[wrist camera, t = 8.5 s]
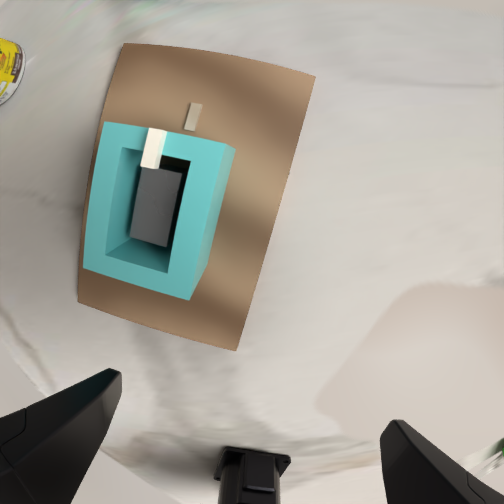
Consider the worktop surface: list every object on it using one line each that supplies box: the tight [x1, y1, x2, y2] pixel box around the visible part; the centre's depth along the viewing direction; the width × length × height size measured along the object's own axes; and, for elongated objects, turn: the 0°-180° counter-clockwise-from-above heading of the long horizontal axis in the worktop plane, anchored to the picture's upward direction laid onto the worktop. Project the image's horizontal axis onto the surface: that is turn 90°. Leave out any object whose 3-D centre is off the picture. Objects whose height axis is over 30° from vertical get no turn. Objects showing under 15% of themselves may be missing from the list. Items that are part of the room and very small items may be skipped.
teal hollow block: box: [83, 121, 236, 300], centre depth 15 cm, size 7×6×6 cm
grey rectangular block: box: [130, 164, 189, 247], centre depth 16 cm, size 4×2×4 cm, turn 165°
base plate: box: [78, 43, 316, 351], centre depth 18 cm, size 18×12×1 cm, turn 165°
